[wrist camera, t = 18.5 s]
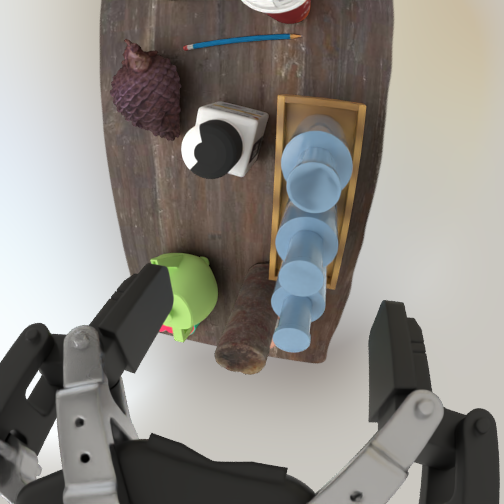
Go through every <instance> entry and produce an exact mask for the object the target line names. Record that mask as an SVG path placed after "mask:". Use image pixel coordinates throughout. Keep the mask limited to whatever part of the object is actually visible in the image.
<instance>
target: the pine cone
mask: <svg viewBox="0 0 504 504" xmlns="http://www.w3.org/2000/svg"><path fill="white" fill-rule="evenodd" d="M124 41H125V42H126V43H127V47H126V49H125V52H124V54H123V56H124V58H125V60H124V61H122V64H123V67H122V68H121V69H120V70H119V71H118V72H117V75H115V76H114V77H113V81H112V82H111V85H112V87H113V89H112V90H111V91H110V94H111V96H113V97H114V100H113V103H114V104H115V105H116V107H117V111H118V112H121V114H122V115H124V117H125V120H127V121H130V120H131V121H132V124H133V126H135V127H137V126H138V127H139V128H141V129H145V130H150V131H152V133H153V134H154V136H157V135H160V137H161V138H163V137H164V138H167V140H168V141H169V140H174V139H175V137H179V135H180V125H179V123H180V119H179V112H180V111H181V109H180V106H179V103H180V102H179V99H180V95H179V93H180V92H179V88H181V84H180V83H179V80H180V78H179V77H178V73H177V72H176V66H175V65H172V64H171V62H170V60H169V59H165V58H163V57H162V56H161V55H157V53H158V51H149V52H144V51H142V49H141V47H140V46H139V45H138V44H136V43H131V42H130V41H129V40H128V39H125V40H124Z"/></svg>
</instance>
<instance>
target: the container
mask: <svg viewBox="0 0 504 504" xmlns="http://www.w3.org/2000/svg"><path fill="white" fill-rule="evenodd" d="M268 117H269V115H268V114H267V113H265V112H261V111H258V110H254V109H250V108H246V107H242V106H238V105H234V104H230V103H226V102H222V101H218V102H215V103H212V104H208V105H205V106H202V107H200V108H199V109H198V114H197V120H196V125H195V127H193V128H192V129H190V130H189V131H188V132H187V134H186V135H185V137H184V139H183V142H182V148H181V151H182V157H183V160H184V162H185V164H186V165H187V167H188V168H189V169H190V170H191V171H192V172H193V173H194V174H196V175H198V176H200V177H202V178H206V179H215V178H219V177H222V176H224V175H225V174H227V173H229V174H233V175H236V176H239V177H244V176H245V175H246V173H247V172H248V171H249V169H250V168H251V167H252V166H253V164H254V163H255V162H256V160H257V157H258V153H259V149H260V146H261V142H262V138H263V135H264V131H265V128H266V124H267V120H268Z"/></svg>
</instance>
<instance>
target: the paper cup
mask: <svg viewBox="0 0 504 504" xmlns="http://www.w3.org/2000/svg"><path fill="white" fill-rule="evenodd" d="M241 1H242V2H243V3H244V4H246V5H247V6H249V7H250V8H252V9H254V10H257V11H260V12H264V13H265V14H267V15H269V16H270V17H272V18H274V19H275V20H277V21H279V22H282V23H286V24H294V23H298V22H300V21H302V20H304V19H305V18H306V17H307V15H308V14H309V11H310V4H311V0H241Z"/></svg>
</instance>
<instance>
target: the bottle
mask: <svg viewBox="0 0 504 504" xmlns="http://www.w3.org/2000/svg"><path fill="white" fill-rule="evenodd" d="M281 169H282V173H283V176H284V178H285V180H286V182H287V185H286V188H287V193H288V196H289V198H290V200H291V201H292V203H293V204H294V205H295V206H296V207H298V208H299V209H301V210H303V211H305V212H309V213H321V212H325V211H327V210H329V209H331V208H332V207H333V206H334V205H335V204H336V203H337V202H338V200H339V198H340V195H341V190H343V189H344V188H345V186H346V185H347V184H348V182H349V180H350V178H351V175H352V169H353V163H352V157H351V154H350V150H349V147H348V143H347V140H346V136H345V133H344V130H343V128H342V126H341V125H340V123H339V122H338V121H337V120H335V119H334V118H332V117H330V116H328V115H324V114H313V115H310V116H308V117H306V118H304V119H303V120H302V121H301V122H300V123H299V124H298V126H297V128H296V129H295V131H294V133H293V135H292V136H291V138H290V140H289V142H288V143H287V145H286V147H285V149H284V151H283V154H282V158H281Z"/></svg>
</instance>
